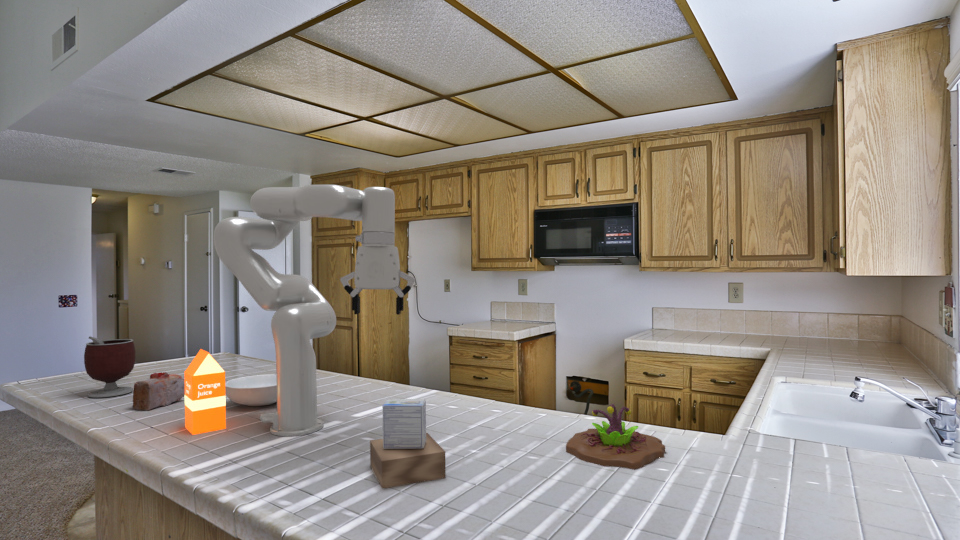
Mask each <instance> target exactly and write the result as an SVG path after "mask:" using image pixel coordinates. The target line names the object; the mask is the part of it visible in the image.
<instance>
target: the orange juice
mask: <svg viewBox="0 0 960 540" xmlns="http://www.w3.org/2000/svg"><path fill="white" fill-rule="evenodd" d="M183 373H184V378H183V379H184V384H185V395H184V397H183V398H184V428H185V429H186V430H187V431H188V432H189V433H190V434H191V435H192V436H194V435H200V434H205V433H210V432H211V433H212V432H216V431H220V430H226V429H227V414H226V413H227V409H226V406H227V401H226V400H227V398H226V397H227V396H226V394H225V382H226V371H225V370H224V368H222V366H221V365H220V364H219V362H217V360H216V359H215V358H214V357H213V356H212V355H211V353H210V352H209V351H207V350H204V349H202V348H200V349H199V351H198V352H197V353H196V355H195V357H193V359H192V360H191V362H190V363H189V365H188V367H187V368H186V369H185V370H184V371H183Z"/></svg>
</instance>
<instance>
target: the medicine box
mask: <svg viewBox="0 0 960 540" xmlns="http://www.w3.org/2000/svg"><path fill="white" fill-rule="evenodd" d="M426 401H427V400H426V399H425V398H406V399H405V398H403V399H402V398H400V399H399V398H397V399H396V398H394V399H393V398H390V399H387V400H385V402H384V403H383V404H382V439H383V449H423V448H424V446H425V443H426V433H427V408H426V406H427V404H426Z"/></svg>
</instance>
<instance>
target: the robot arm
mask: <svg viewBox="0 0 960 540" xmlns="http://www.w3.org/2000/svg"><path fill="white" fill-rule="evenodd" d="M249 204H250V208H251V210H252V212H253V214H255V215H256V216H257V217H259V218H255V217H248V216H247V217H246V216H230V217H227V218H224V219H221V220H220V221H219V222H218V223H217V224H216V226H215V228H214V231H213V244H214V249H215V252H216V254H217V256H218V258H219V260H220V261H221V262H222V264H223V266H225V267H226V268H227V269H228V270H229V271H230V272H231V273H232V274H233V276H235V277H236V279H237V280H238V281H239V282H240V284H241V285H242V286H243V288H244V289H245V290H246V291H247V293H248V294H249V296H251V297H252V298H253V300H254V301H255V302H256V304H257V305H258V306H259V307H260V308H261V309H263V310H264V311H268V312H274V313H273V315H272V316H271V317H272V318H271V322H270V323H271V324H270V328H271V329H270V330H271V333H272V334H271V335H272V337H273V341H274V342H273V343H274V349H275V368H276V380H277V402H276V411H274V412H273V413H270V412H262V413H260V417H259V419H260V422H261V424H268V423H271V424H272V425H271V426H270V428H269V429H270V431H269V432H270V433H271V434H272V435H274V436H277V437H298V436H304V435H310V434H313V433H315V432H317V431H318V432H319V430H321V429H322V428H323V427H324V420H323V419H322V418H321V419H320V418H318V414H317V413H318V409H317V408H318V404H317V402H318V399H317V395H318V392H317V390H318V389H317V357H316V353H315V350H314V348H313V345H312V343H311V340H313V339H319V338H323V337H326V336H329V335H330V334H331V333H333V331H334V330H335V329H336V326H337V316H336V312H335V310H334V307H332V305H331V304H330V302H329V301H328V300H327V299H326V298H325V296H323V294H321V292H320V291H319V290H318V288H316V286H315V285H314V283H312V282H311V281H310V280H309V279H308V278H306V277H304V276H302V275H300V274H290V273H289V274H284V273H279V272H278V271H276V270H275V269H274V268H273V267H272V265H271V264H270V262H269V261H267V259H266V258H265V257H264V256H262V255H260V254H259V253H257V252H256V251H254V250H262V251H263V250H265V251H267V250H273V249H275V248H276V247H278V246H280V244H282V242H284V240H285V239H286V238H287V237H288V236H289V235H290V233H291V232H293V231H294V229H295V228H296V227H297V226H298V225H299V224H300V222H308V221H310V220H311V219H313V218H334V219H341V220H348V221H353V222H355V221H356V222H361V233H360V234H359V235H355V242H359V243H360V244H361V246H360V245H358V246H357V249H356V256H355V266H354V268H355V269H354V271H351V272H350V273H348V274H346V275H343V276H342V277H340V278H339V281H340V283H341V285H342V286H343V289H344V290H345V291H346V292H347V294H349V295H350V297H351V310H352V311H353V315H359V314H360V313H361V297H360V296H359V294H360V292H362V290H393V292H394V293H396V294H397V297H396V298H395V299H396V300H395V301H396V303H395V307H396V309H395V314H396V315H401V314H402V311H404V297H405V296H406V295H407V294H408V293H409V292H410V291H411V290H412V288H413V286H414V284H415V283H416V278H415V277H413V276H411V275H409V274H407V273H405V272H404V271H401V265H400V262H401V261H400V254H399V249H398V246H395V241H396V240H395V239H396V238H395V233H396V231H395V228H396V227H395V226H396V225H395V222H396V221H395V220H396V219H395V218H396V216H395V215H396V213H395V212H396V211H395V210H396V209H395V208H396V195H395V191H394V189H392V188H389V187H384V186H368V187H365V188H364V189H363V190H361V189H356V188H353V187H348V186H345V185H338V184H306V185H303V186H290V187H289V186H274V187H273V186H272V187H269V186H268V187H262V188H260V189H258V190H256V191H255V192H254V193H253V194H252V195H251V197H250V203H249ZM352 279H354V286H355V287H354V288H353V287H352V286H351V285H350V283H349V281H350V280H352ZM401 279H404V280H406V281H407V284H406V286H405V287H404V288H403V289H402V288H401V286H400V285H401Z"/></svg>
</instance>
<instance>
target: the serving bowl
mask: <svg viewBox="0 0 960 540" xmlns="http://www.w3.org/2000/svg"><path fill="white" fill-rule="evenodd" d="M225 394H226V397H227V398H228V400H230V401H231V402H233V403H234V404H239V405H244V406H249V407H263V406H269V405H272V404H275V403H277V380H276V374H275V373H272V374H271V373H270V374H269V373H268V374H267V373H266V374H256V375H248V376H243V377H242V376H241V377H240V376H239V377H236V378H232V379H229V380H227V381H225Z"/></svg>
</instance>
